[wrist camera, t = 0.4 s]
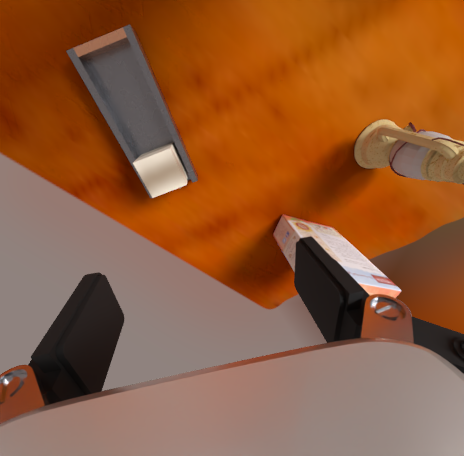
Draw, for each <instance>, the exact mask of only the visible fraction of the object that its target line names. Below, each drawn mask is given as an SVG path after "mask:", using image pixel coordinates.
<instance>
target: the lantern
mask: <svg viewBox="0 0 464 456" xmlns="http://www.w3.org/2000/svg"><path fill="white" fill-rule="evenodd" d="M420 131H421V132H420ZM354 157H355V160H356V162H357V163H358V164H359V165H360V166H361V167H363V168H368V169H371V168H383V167H386V166H389V165H390V167H391V169H392V170H393V171H394V172H395V170H396V171H397V172H398V173H400V174H402V175H400V174H398V173H397V172H395V173H396V174H397V175H399V176H403V177H409V178H415V179H421V180H425V179H426V180H430V181H431V180H433V181H437V182H439V181H446V182H454V183H458V184H464V142H462V141H456V140H453V139H451V138H450V137H449V136H446V135H443V134H440V133H436V132H427V131H425V130H422V129H421V130H419V131H418V132H416V129H415V127H414V125H413V124H412V123H411V122H410V123H409V125H408V126H407V127H405V128H404V129H402V128H400V127H398V126H397V125H396V124H395V123H394V122H392V121H390V120H386V119H385V120H378V121H376V122H373V123H372V124H370V125H369V126H368V127H366V128H365V129H364V131H363V132H362V133H361V134H360V136H359V137H358V139H357V141H356V144H355V148H354ZM392 167H393V168H392ZM394 169H395V170H394Z"/></svg>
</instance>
